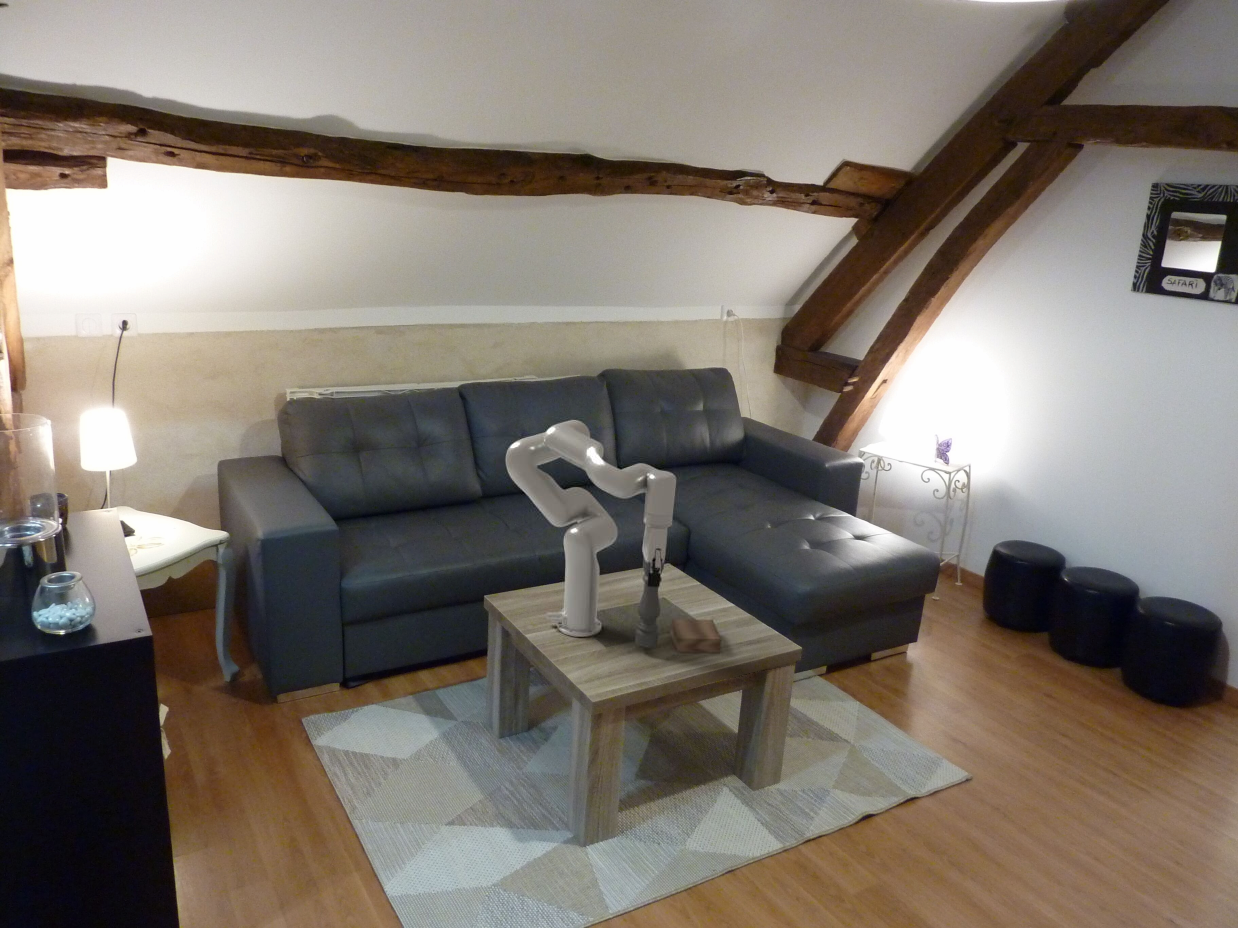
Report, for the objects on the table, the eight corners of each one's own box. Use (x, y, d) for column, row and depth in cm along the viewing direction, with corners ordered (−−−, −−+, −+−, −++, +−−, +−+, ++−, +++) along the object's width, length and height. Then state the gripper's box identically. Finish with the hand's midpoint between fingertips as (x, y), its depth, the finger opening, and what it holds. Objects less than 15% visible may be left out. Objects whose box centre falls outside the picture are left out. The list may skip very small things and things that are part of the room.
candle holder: (644, 634, 264) (652, 550, 257) (661, 642, 261) (670, 557, 254) (630, 641, 260) (637, 555, 253) (648, 649, 256) (656, 562, 249)
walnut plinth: (676, 651, 261) (678, 638, 260) (670, 631, 273) (671, 619, 272) (719, 652, 263) (721, 638, 262) (711, 632, 274) (712, 619, 273)
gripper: (640, 506, 258) (634, 568, 263) (647, 528, 241) (641, 594, 246) (667, 507, 259) (661, 569, 264) (677, 530, 242) (670, 595, 247)
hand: (651, 580), depth 255 cm, fingers closed on candle holder, 5 cm apart
